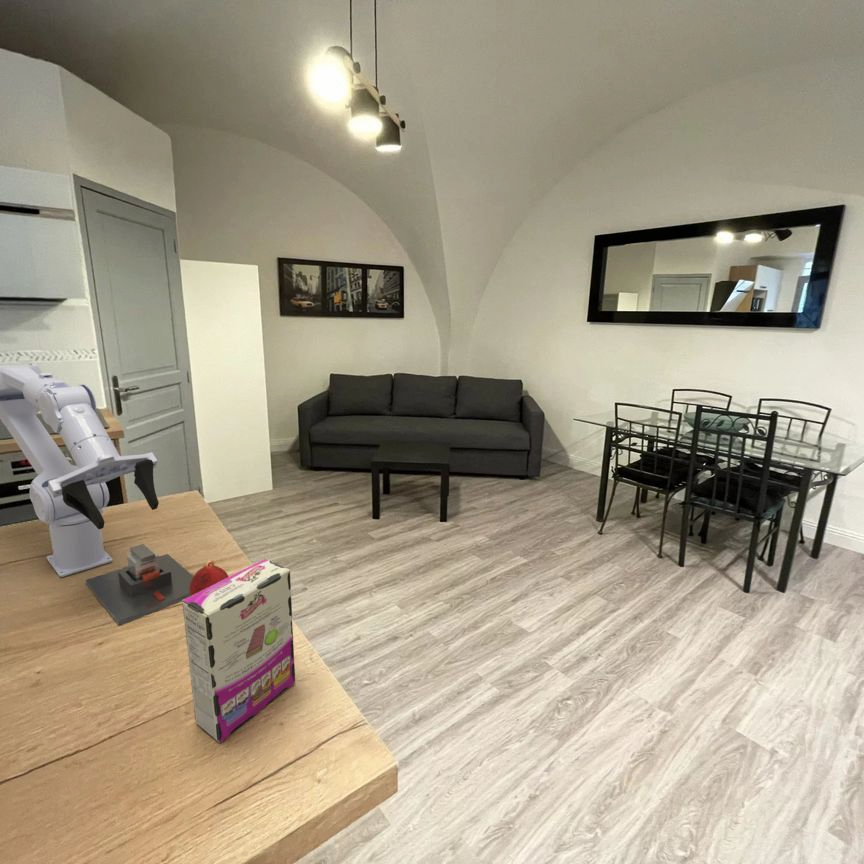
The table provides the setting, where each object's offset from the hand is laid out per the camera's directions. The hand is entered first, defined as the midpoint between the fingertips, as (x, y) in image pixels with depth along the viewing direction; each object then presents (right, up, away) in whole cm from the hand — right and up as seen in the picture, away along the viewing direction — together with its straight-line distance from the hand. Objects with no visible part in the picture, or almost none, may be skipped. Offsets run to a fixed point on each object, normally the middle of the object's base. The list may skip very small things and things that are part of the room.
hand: (129, 515), depth 74 cm
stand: (-2, -13, +7) cm, 15 cm away
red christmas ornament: (+11, -15, +3) cm, 19 cm away
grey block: (-2, -13, +7) cm, 15 cm away
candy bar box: (+24, -20, -16) cm, 35 cm away
